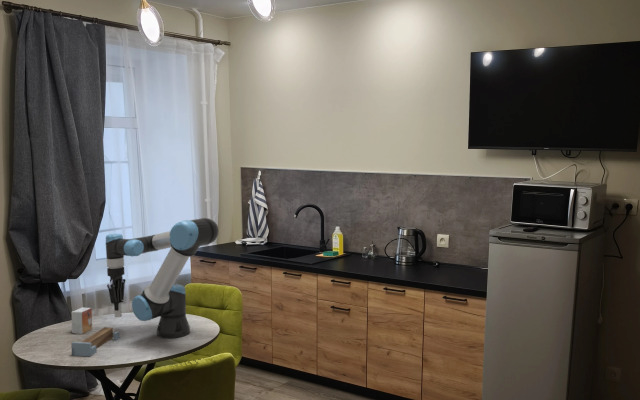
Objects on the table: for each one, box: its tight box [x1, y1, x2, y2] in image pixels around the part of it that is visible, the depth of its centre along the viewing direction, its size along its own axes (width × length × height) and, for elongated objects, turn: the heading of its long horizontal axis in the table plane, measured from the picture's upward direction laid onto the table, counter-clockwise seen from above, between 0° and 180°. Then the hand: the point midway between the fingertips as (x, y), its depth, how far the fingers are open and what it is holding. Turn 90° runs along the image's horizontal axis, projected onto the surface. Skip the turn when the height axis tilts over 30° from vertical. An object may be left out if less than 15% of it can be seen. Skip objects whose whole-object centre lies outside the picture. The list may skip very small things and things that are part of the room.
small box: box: [71, 306, 93, 335], centre depth 266 cm, size 8×6×10 cm
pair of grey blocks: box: [112, 330, 120, 341], centre depth 256 cm, size 8×4×3 cm, turn 81°
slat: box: [81, 326, 114, 350], centre depth 246 cm, size 4×22×5 cm, turn 173°
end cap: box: [70, 341, 97, 357], centre depth 236 cm, size 8×5×6 cm, turn 81°
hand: (118, 316), depth 263 cm, fingers closed
